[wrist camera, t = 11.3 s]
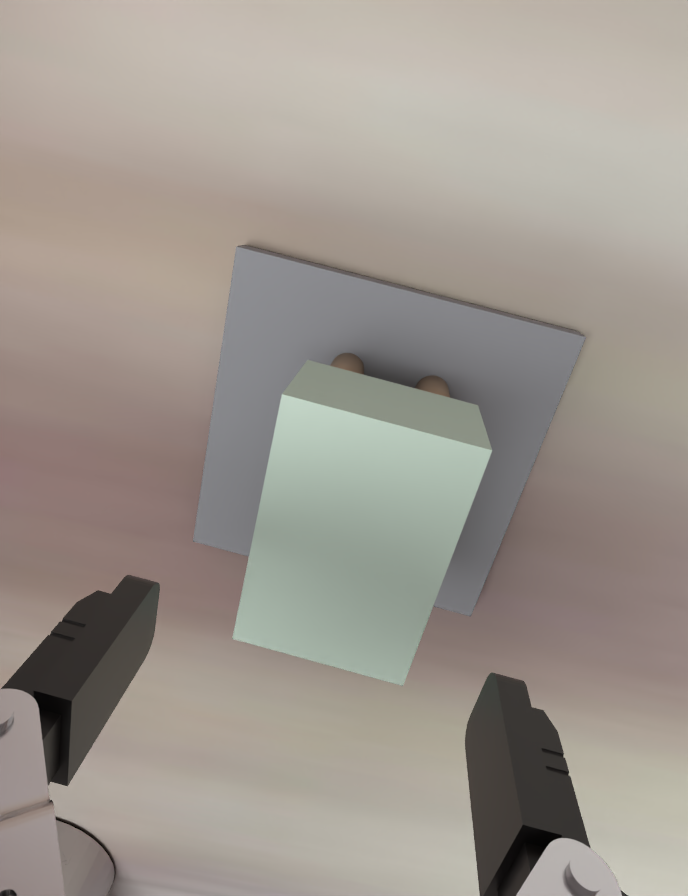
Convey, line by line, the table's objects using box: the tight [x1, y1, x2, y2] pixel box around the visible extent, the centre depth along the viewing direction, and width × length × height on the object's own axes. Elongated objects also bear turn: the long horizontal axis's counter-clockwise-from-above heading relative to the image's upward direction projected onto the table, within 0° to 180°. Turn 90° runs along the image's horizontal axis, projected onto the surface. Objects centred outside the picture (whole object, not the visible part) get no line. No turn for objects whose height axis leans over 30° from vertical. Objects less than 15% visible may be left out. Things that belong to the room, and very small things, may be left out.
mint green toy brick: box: [232, 353, 492, 686], centre depth 21 cm, size 6×9×8 cm, turn 166°
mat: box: [193, 245, 586, 616], centre depth 25 cm, size 14×14×1 cm
